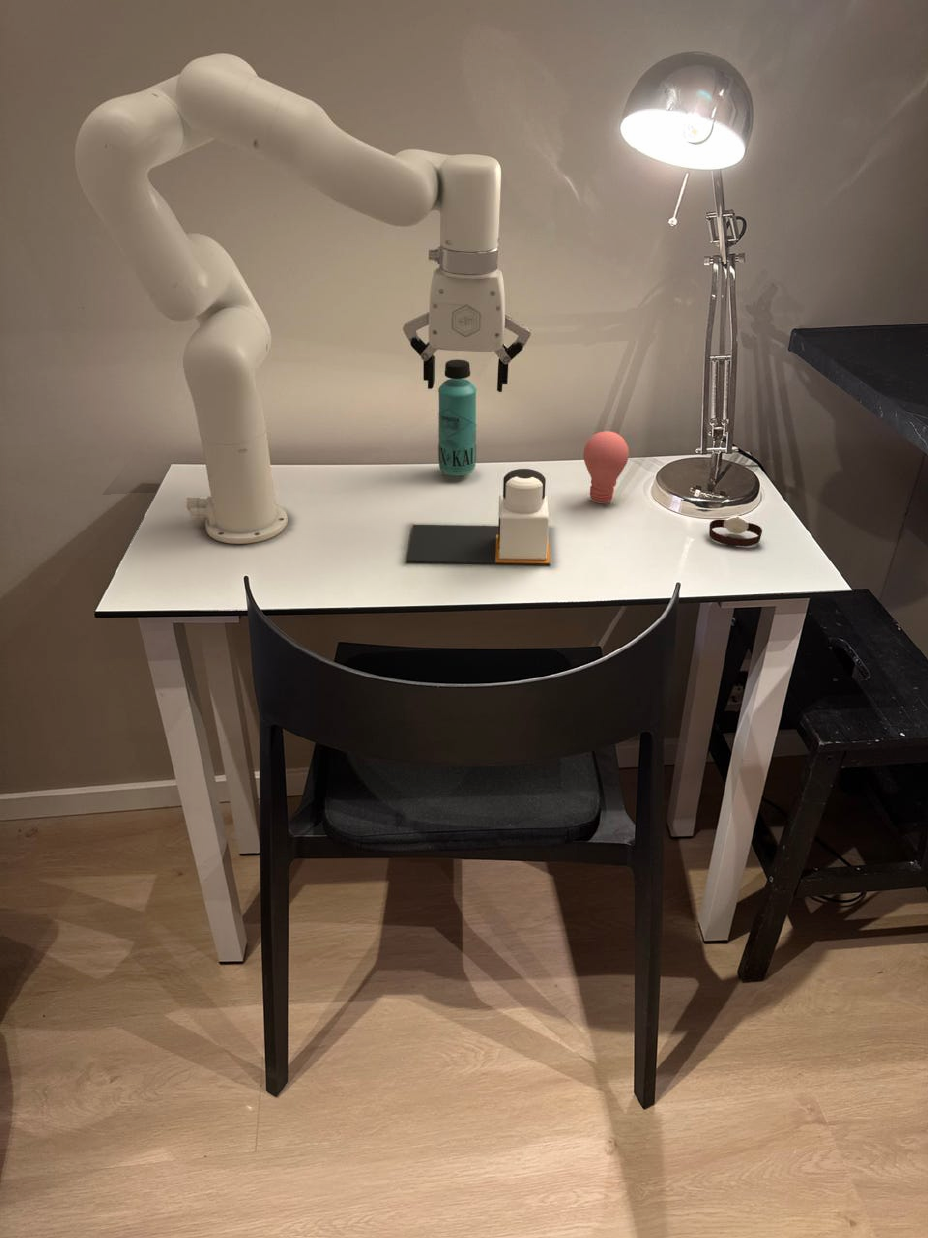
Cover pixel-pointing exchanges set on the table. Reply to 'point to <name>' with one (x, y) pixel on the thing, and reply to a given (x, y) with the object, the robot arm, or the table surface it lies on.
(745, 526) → the watch
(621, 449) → the light bulb
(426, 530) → the desk mat
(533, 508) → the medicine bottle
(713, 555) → the table surface
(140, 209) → the robot arm
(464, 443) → the beverage bottle
